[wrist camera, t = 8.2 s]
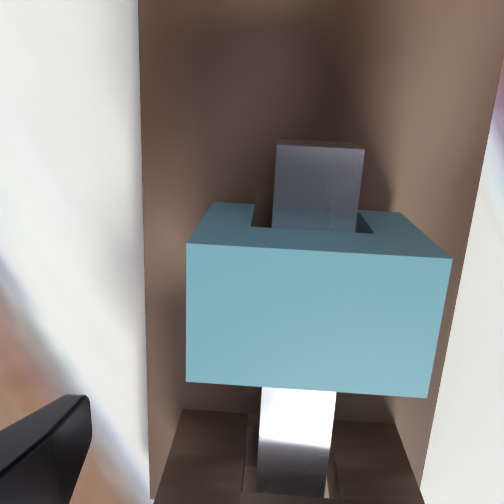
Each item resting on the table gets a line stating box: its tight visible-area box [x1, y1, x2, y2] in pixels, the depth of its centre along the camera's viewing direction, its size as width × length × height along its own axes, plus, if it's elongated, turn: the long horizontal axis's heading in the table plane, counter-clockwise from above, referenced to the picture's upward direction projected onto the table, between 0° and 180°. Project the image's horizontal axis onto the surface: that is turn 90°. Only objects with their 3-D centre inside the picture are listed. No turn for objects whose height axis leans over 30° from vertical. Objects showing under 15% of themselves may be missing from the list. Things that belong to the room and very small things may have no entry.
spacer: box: [186, 202, 453, 398], centre depth 15 cm, size 7×4×5 cm, turn 88°
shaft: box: [255, 139, 365, 498], centre depth 18 cm, size 4×24×4 cm, turn 178°
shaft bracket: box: [138, 0, 504, 504], centre depth 16 cm, size 12×24×7 cm, turn 178°
